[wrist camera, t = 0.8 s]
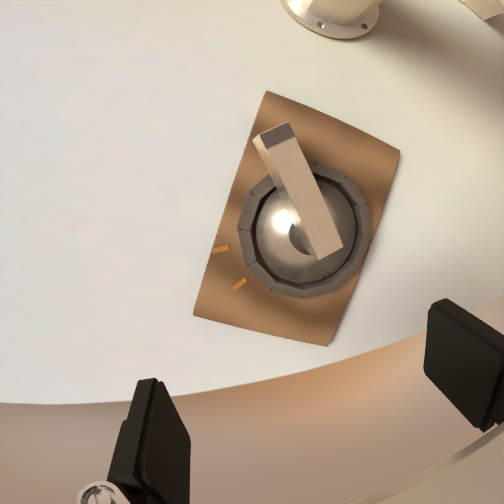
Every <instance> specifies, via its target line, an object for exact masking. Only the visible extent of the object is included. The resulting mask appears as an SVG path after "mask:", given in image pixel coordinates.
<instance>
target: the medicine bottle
mask: <svg viewBox="0 0 504 504" xmlns="http://www.w3.org/2000/svg"><path fill="white" fill-rule="evenodd" d="M460 1H461V2H463V3H464V4H465V5H466V6H467V7H469V8H470V9H471V10H472V11H473V12H475V13H476V14H477V15H478V16H479V17H480V18H482V19H483V20H486V19H489V18H491V17H494V16H496V15H499V14H501V13H504V0H460Z"/></svg>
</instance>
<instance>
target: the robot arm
mask: <svg viewBox="0 0 504 504" xmlns="http://www.w3.org/2000/svg"><path fill="white" fill-rule="evenodd" d="M383 1H384V0H281V2H282V4H283V6H284V7H285V9H286V10H287V11H288V12H289V14H290V15H291V16H292V17H293V18H294V19H296V20H297V21H298V22H299V23H300V24H302V25H304V26H305V27H307V28H308V29H310V30H312V31H314V32H317V33H319V34H322V35H325V36H328V37H332V38H338V39H351V38H357V37H360V36H362V35H364V34H366V33H367V32H369V31H370V30H371V29H372V28H373V27H374V26H375V25H376V23H377V21H378V18H379V5H380V4H381V3H382V2H383ZM424 372H425V375H426V376H427V377H428V378H429V379H430V380H431V381H432V382H433V383H434V384H435V385H436V386H437V387H438V388H439V390H440V391H441V392H442V393H443V394H444V395H445V396H446V397H447V398H448V399H449V400H450V401H451V402H452V403H453V405H454V406H455V407H456V408H457V409H458V410H459V411H460V412H461V413H462V414H463V415H464V416H465V418H466V419H467V420H468V421H469V422H470V423H471V424H472V425H473V426H474V427H475V428H479V429H480V430H481V431H482V432H483V433H484V432H485V431H487V430H488V429H490V428H491V427H492V426H494V424H495V422H496V423H497V424H498V426H497V427H496V428H494V429H493V430H491V431H490V432H489V433H487V434H486V435H484V436H483V437H481V438H480V439H478V440H477V441H475V442H474V443H472V444H471V445H469V446H468V447H466V448H464V449H463V450H461V451H460V452H458V453H456V454H455V455H453V456H451V457H449V458H448V459H446V460H444V461H442V462H441V463H439V464H437V465H435V466H433V467H432V468H430V469H428V470H426V471H424V472H422V473H420V474H418V475H416V476H414V477H412V478H410V479H408V480H406V481H404V482H401V483H399V484H397V485H395V486H393V487H390V488H388V489H385V490H383V491H381V492H379V493H376V494H373V495H371V496H368V497H366V498H363V499H360V500H358V501H355V502H352V503H349V504H504V335H503V334H501V333H500V332H498V331H497V330H495V329H494V328H492V327H491V326H489V325H487V324H486V323H485V322H483V321H482V320H480V319H479V318H477V317H475V316H474V315H472V314H471V313H469V312H468V311H466V310H465V309H463V308H461V307H460V306H458V305H457V304H455V303H454V302H452V301H450V300H449V299H447V298H445V299H442V300H439V301H437V302H434V303H433V304H432V305H431V308H430V309H429V311H428V322H427V337H426V348H425V358H424ZM190 453H191V441H190V437H189V434H188V432H187V430H186V428H185V426H184V424H183V422H182V420H181V418H180V416H179V414H178V412H177V410H176V408H175V406H174V404H173V402H172V400H171V398H170V396H169V393H168V391H167V389H166V387H165V385H164V383H163V382H162V381H160V382H158V380H157V379H156V378H151V379H144V380H139V381H138V383H137V386H136V389H135V393H134V396H133V400H132V403H131V406H130V410H129V413H128V417H127V420H124V421H123V423H122V425H121V428H120V432H119V435H118V439H117V443H116V446H115V450H114V454H113V458H112V461H111V465H110V469H109V473H108V477H107V481H97V482H93V483H90V484H88V485H87V486H85V487H84V488H83V489H82V490H81V491H80V492H79V494H78V496H77V500H76V504H190V503H189V502H190V500H189V499H190Z"/></svg>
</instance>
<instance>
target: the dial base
mask: <svg viewBox="0 0 504 504" xmlns="http://www.w3.org/2000/svg"><path fill="white" fill-rule="evenodd" d="M285 122H289V124H290V126H291V128H292V130H293V132H294V134H295V138H296V140H297V142H298V144H299V147H300V149H301V151H302V153H303V155H304V157H305V159H306V161H307V163H308V166H309V168H310V170H311V172H312V174H313V176H314V179H315V180H317V181H322V182H325V183H327V184H329V185H331V186H333V187H334V188H336V189H337V190H338V191H339V192H341V193H342V194H343V196H344V197H345V198H346V199H347V201H348V202H349V204H350V206H351V208H352V211H353V214H354V218H355V226H356V232H355V239H354V243H353V247H352V249H351V251H350V254H349V255H348V257H347V259H346V260H345V261H344V263H343V264H342V265H341V266H340V267H339V268H338V269H337V270H336V271H334V272H333V273H332V274H330V275H328V276H327V277H324V278H322V279H319V280H316V281H311V282H296V281H292V280H289V279H286V278H284V277H282V276H280V275H278V274H277V273H276V272H274V271H273V270H272V269H271V268H270V267H269V266H268V265H267V263H266V262H265V260H264V259H263V257H262V256H261V254H260V252H259V250H258V247H257V244H256V241H255V234H254V227H255V220H256V216H257V213H258V210H259V208H260V206H261V204H262V203H263V201H264V200H265V198H266V197H267V196H268V195H269V194H270V193H271V192H272V191H273V190H275V189H276V187H275V185H274V183H273V181H272V179H271V176H270V174H269V172H268V170H267V168H266V166H265V164H264V162H263V160H262V158H261V156H260V154H259V152H258V150H257V148H256V146H255V144H254V142H253V139H254V138H255V137H256V136H257V135H258V134H260V133H262V132H264V131H266V130H269V129H271V128H273V127H275V126H278V125H280V124H282V123H285ZM399 155H400V150H398V149H396V148H394V147H392V146H390V145H389V144H387V143H385V142H383V141H381V140H379V139H377V138H375V137H373V136H371V135H369V134H367V133H365V132H363V131H361V130H359V129H357V128H355V127H353V126H351V125H349V124H347V123H345V122H342V121H340V120H338V119H336V118H334V117H331V116H329V115H327V114H325V113H322V112H320V111H318V110H315V109H313V108H310V107H308V106H306V105H303V104H301V103H298V102H296V101H293V100H291V99H288V98H285V97H283V96H280V95H277V94H275V93H272V92H269V91H266V93H265V94H264V97H263V99H262V102H261V105H260V108H259V110H258V113H257V116H256V119H255V121H254V124H253V127H252V130H251V133H250V136H249V138H248V141H247V144H246V147H245V150H244V153H243V156H242V159H241V162H240V165H239V167H238V170H237V173H236V176H235V179H234V182H233V185H232V188H231V191H230V194H229V197H228V200H227V203H226V207H225V210H224V213H223V216H222V219H221V222H220V225H219V228H218V231H217V235H216V238H215V241H214V244H213V247H212V251H211V254H210V257H209V260H208V263H207V267H206V270H205V273H204V277H203V280H202V283H201V287H200V290H199V293H198V297H197V300H196V303H195V307H194V311H193V315H194V316H197V317H201V318H205V319H208V320H212V321H216V322H220V323H224V324H228V325H232V326H236V327H240V328H244V329H248V330H252V331H256V332H260V333H265V334H269V335H273V336H278V337H282V338H287V339H291V340H296V341H301V342H306V343H311V344H316V345H321V346H326V347H328V345H329V343H330V341H331V339H332V337H333V335H334V332H335V330H336V328H337V326H338V323H339V321H340V319H341V317H342V314H343V312H344V310H345V307H346V305H347V303H348V300H349V298H350V296H351V293H352V291H353V288H354V286H355V283H356V281H357V278H358V276H359V273H360V271H361V268H362V266H363V263H364V260H365V258H366V255H367V253H368V250H369V247H370V244H371V242H372V239H373V236H374V233H375V231H376V228H377V225H378V222H379V219H380V216H381V213H382V210H383V207H384V204H385V201H386V198H387V195H388V192H389V188H390V185H391V182H392V179H393V175H394V172H395V169H396V165H397V162H398V158H399Z"/></svg>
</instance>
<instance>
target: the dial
mask: <svg viewBox="0 0 504 504" xmlns="http://www.w3.org/2000/svg"><path fill="white" fill-rule="evenodd" d="M253 142H254V144H255V146H256V148H257V150H258V152H259V154H260V156H261V158H262V160H263V162H264V164H265V166H266V168H267V170H268V172H269V174H270V176H271V179H272V181H273V183H274V185H275V187H276V189H275V190H273V191H272V192H271V193H270V194H269V195H268V196H267V197H266V198H265V200H264V201H263V203H262V204H261V206H260V208H259V210H258V213H257V216H256V220H255V227H254V234H255V241H256V244H257V247H258V250H259V252H260V254H261V256H262V257H263V259H264V260H265V262H266V263H267V265H268V266H269V267H270V268H271V269H272V270H273V271H274V272H276V273H277V274H278V275H280V276H282V277H284V278H286V279H289V280H292V281H296V282H311V281H316V280H319V279H322V278H324V277H327V276H328V275H330V274H332V273H333V272H334V271H336V270H337V269H338V268H339V267H340V266H341V265H342V264H343V263H344V261H345V260H346V259H347V257H348V255H349V254H350V251H351V249H352V247H353V243H354V239H355V232H356V226H355V218H354V214H353V211H352V208H351V206H350V204H349V202H348V201H347V199H346V198H345V197H344V196H343V194H342V193H341V192H339V191H338V190H337V189H336V188H334V187H333V186H331V185H329V184H327V183H325V182H322V181H317V180H315V179H314V176H313V174H312V172H311V170H310V168H309V166H308V163H307V161H306V159H305V157H304V155H303V153H302V151H301V149H300V147H299V144H298V142H297V140H296V138H295V134H294V132H293V130H292V128H291V126H290V124H289V122H285V123H282V124H280V125H278V126H275V127H273V128H271V129H269V130H266V131H264V132H262V133H260V134H258V135H257V136H256V137H255V138H254V139H253Z"/></svg>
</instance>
